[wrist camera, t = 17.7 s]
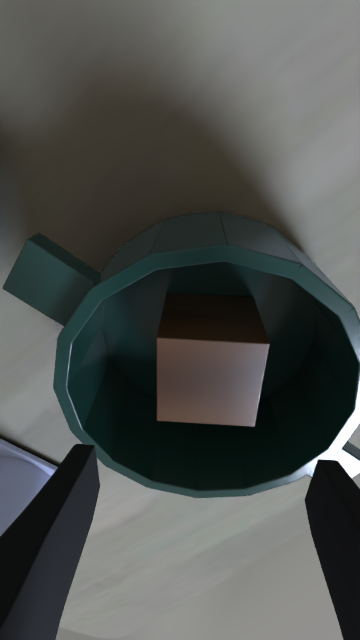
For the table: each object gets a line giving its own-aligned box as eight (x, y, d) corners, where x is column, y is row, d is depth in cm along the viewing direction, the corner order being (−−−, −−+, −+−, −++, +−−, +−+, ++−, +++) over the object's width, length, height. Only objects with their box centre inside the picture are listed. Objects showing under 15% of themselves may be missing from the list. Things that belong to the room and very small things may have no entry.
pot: (250, 459, 24) (263, 548, 19) (14, 319, 19) (-54, 384, 14) (406, 338, 19) (486, 415, 13) (133, 109, 14) (95, 92, 9)
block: (243, 368, 20) (254, 427, 16) (165, 363, 20) (156, 421, 16) (254, 296, 18) (270, 343, 13) (166, 292, 18) (156, 337, 14)
